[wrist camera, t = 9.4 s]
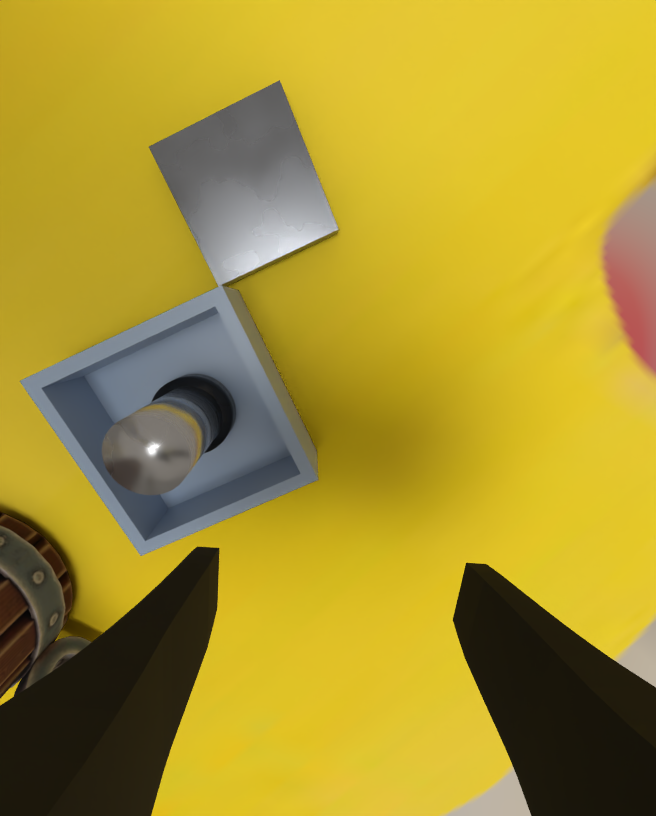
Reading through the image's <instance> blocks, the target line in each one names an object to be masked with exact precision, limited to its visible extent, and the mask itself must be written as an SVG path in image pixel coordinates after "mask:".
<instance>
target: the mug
mask: <svg viewBox="0 0 656 816" xmlns="http://www.w3.org/2000/svg"><path fill="white" fill-rule="evenodd" d="M72 598H73V594H72V586H71V581H70V578H69V575H68V572H67V569H66V567H65V565H64V563H63V561H62V559H61V558H60V556H59V554H58V552H57V551H56V550H55V549H54V548H53V547H52V545H51V544H50V543H49V542H48V541H47V540H46V539H45V537H43V536H42V535H41V534H39V533H38V532H37V531H35V530H34V529H33V528H31V527H30V526H28V525H27V524H26V523H24V522H21V521H19V520H17V519H15V518H12V517H10V516H8V515H6V514H4V513H0V698H1V697H2V696H3V695H4V694H5V693H6V691H7V690H8V689H9V688H11V687H13V686H14V685H15V684H16V683H17V682H18V681H19V680H20V679H21V681H20V682H19V685H18V687H17V689H16V691H15V694H14V696H16V695H17V694H19V693H20V692H22V691H23V690H25V689H26V688H28V687H29V686H31V685H32V684H34V683H35V682H37V681H38V680H40V679H41V678H43V677H44V676H46V675H47V674H49V673H51V672H52V671H53V670H55V669H56V668H58V667H59V666H61V665H62V664H63V663H65V662H66V661H68V660H69V659H70V658H72V657H73V656H74V655H76V654H77V653H78V652H80V651H81V650H82V649H84V648H85V647H86V646H88V645H89V644H90V643H92V642H91V641H88V640H86V639H84V638H82V637H73V636H69V637H65V638H61V639H59V640H57V641H55V640H56V638H57V636H58V634H59V632H60V631H61V629H62V628H63V626H64V625H65V623H66V621H67V620H68V619H67V613H68V612H69V611H70V610H71V607H72Z"/></svg>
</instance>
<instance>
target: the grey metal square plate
mask: <svg viewBox="0 0 656 816" xmlns="http://www.w3.org/2000/svg"><path fill="white" fill-rule="evenodd" d="M149 148H150V150H151V152H152V154H153V156H154V158H155V160H156V162H157V164H158V166H159V168H160V170H161V172H162V174H163V176H164V178H165V180H166V182H167V184H168V186H169V188H170V190H171V192H172V194H173V196H174V198H175V200H176V202H177V204H178V206H179V208H180V210H181V212H182V214H183V216H184V218H185V220H186V222H187V224H188V226H189V228H190V230H191V232H192V234H193V236H194V238H195V240H196V242H197V244H198V246H199V248H200V250H201V252H202V254H203V256H204V258H205V260H206V262H207V264H208V266H209V268H210V270H211V272H212V274H213V276H214V278H215V280H216V282H217V284H218V286H221V285H222V286H228V285H230V284H232V283H234V282H236V281H239V280H241V279H243V278H245V277H247V276H249V275H251V274H253V273H255V272H258V271H260V270H262V269H264V268H266V267H268V266H270V265H272V264H274V263H277V262H279V261H281V260H283V259H285V258H287V257H289V256H291V255H293V254H296V253H298V252H300V251H302V250H304V249H306V248H308V247H310V246H312V245H315V244H317V243H319V242H321V241H323V240H325V239H327V238H329V237H331V236H334V235H336V234H337V233H338V230H339V229H338V226H337V224H336V221H335V219H334V216H333V214H332V211H331V209H330V206H329V204H328V201H327V199H326V196H325V194H324V191H323V189H322V186H321V183H320V181H319V178H318V176H317V173H316V171H315V168H314V166H313V163H312V161H311V158H310V156H309V153H308V151H307V148H306V146H305V143H304V141H303V138H302V136H301V133H300V131H299V128H298V125H297V123H296V120H295V118H294V115H293V113H292V110H291V108H290V105H289V103H288V100H287V98H286V95H285V93H284V90H283V88H282V85H281V83H280V80H279V81H277V82H275V83H273V84H272V85H270V86H268V87H266V88H264V89H262V90H260V91H258V92H256V93H254V94H252V95H250V96H248V97H246V98H244V99H242V100H240V101H238V102H236V103H234V104H232V105H230V106H228V107H226V108H224V109H222V110H220V111H218V112H216V113H214V114H212V115H210V116H208V117H207V118H205V119H203V120H201V121H199V122H197V123H195V124H193V125H191V126H189V127H187V128H185V129H183V130H181V131H179V132H177V133H175V134H173V135H171V136H169V137H167V138H165V139H163V140H161V141H159V142H157V143H155V144H153V145H151V146H149Z"/></svg>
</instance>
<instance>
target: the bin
mask: <svg viewBox="0 0 656 816" xmlns="http://www.w3.org/2000/svg"><path fill="white" fill-rule="evenodd" d="M187 374H203V375H207V376H210V377H213V378H214V379H216V380H218V381H219V382H221V383H222V384H223V385H224V386H225V387H226V388H227V389H228V390H229V392H230V393H231V395H232V397H233V399H234V402H235V406H236V419H235V423H234V425H233V427H232V429H231V431H230V432H229V434H228V435H227V437H226V438H225V440H224V441H223V442H222V443H221V444H220V445H219V446H218V447H217V448H215V449H213V450H212V451H209V452H207V453H204V454H203V455H202V456H201V458H200V459H199V460H198V462H197V463H196V464H195V466H194V467H193V468H192V470H191V471H190V472H189V474H188V475H187V476H186V478H185V479H184V480H183V482H182V483H181V484H180V485H179V486H177V487H176V488H175V489H173V490H171V491H169V492H166V493H163V494H159V495H143V494H138V493H135V492H132V491H130V490H128V489H126V488H124V487H122V486H121V485H120V484H118V483H117V482H116V481H115V480H114V479H113V478H112V477H111V475H110V474H109V472H108V471H107V469H106V467H105V465H104V462H103V457H102V444H103V440H104V437H105V435H106V433H107V432H108V430H109V429H110V428H111V427H112V426H113V425H114V424H115V423H116V422H118V421H120V420H121V419H123V418H125V417H127V416H128V415H130V414H132V413H134V412H135V411H137V410H139V409H141V408H142V407H144V406H146V405H148V404H149V403H151V402H152V399H153V397H154V395H155V394H156V392H157V391H158V390H159V389H160V388H161V387H162V386H164V385H165V384H167V383H168V382H170V381H172V380H174V379H176V378H178V377H181V376H183V375H187ZM20 382H21V384H22V385H23V387H24V388H25V390H26V391H27V392H28V394H29V395H30V397H31V398H32V400H33V401H34V403H35V404H36V405H37V407H38V408H39V410H40V411H41V413H42V414H43V416H44V417H45V418H46V420H47V421H48V423H49V424H50V426H51V427H52V429H53V430H54V431H55V433H56V434H57V436H58V437H59V439H60V440H61V441H62V443H63V444H64V446H65V447H66V449H67V450H68V452H69V453H70V454H71V456H72V457H73V459H74V460H75V462H76V463H77V465H78V466H79V467H80V469H81V470H82V472H83V473H84V475H85V476H86V478H87V479H88V480H89V482H90V483H91V485H92V486H93V488H94V489H95V491H96V492H97V493H98V495H99V496H100V498H101V499H102V501H103V502H104V504H105V505H106V506H107V508H108V509H109V511H110V512H111V514H112V515H113V517H114V518H115V519H116V521H117V522H118V524H119V525H120V527H121V528H122V530H123V531H124V532H125V534H126V535H127V537H128V538H129V540H130V541H131V543H132V544H133V545H134V547H135V548H136V550H137V551H138V553H139V554H140V555H141V556H142V555H144V554H146V553H149V552H151V551H153V550H156V549H158V548H160V547H163V546H165V545H167V544H170V543H172V542H174V541H177V540H179V539H181V538H184V537H186V536H188V535H191V534H193V533H195V532H198V531H200V530H202V529H205V528H207V527H209V526H211V525H214V524H216V523H218V522H221V521H223V520H225V519H228V518H230V517H232V516H235V515H237V514H239V513H242V512H244V511H246V510H249V509H251V508H253V507H256V506H258V505H260V504H263V503H265V502H267V501H270V500H272V499H274V498H277V497H279V496H281V495H284V494H286V493H288V492H291V491H293V490H295V489H298V488H300V487H302V486H305V485H307V484H309V483H312V482H314V481H316V480H318V463H317V450H316V448H315V446H314V444H313V442H312V440H311V438H310V436H309V434H308V432H307V430H306V428H305V426H304V424H303V422H302V420H301V417H300V415H299V413H298V411H297V409H296V407H295V405H294V403H293V401H292V399H291V397H290V395H289V393H288V391H287V389H286V387H285V385H284V383H283V381H282V378H281V376H280V374H279V372H278V370H277V368H276V366H275V364H274V362H273V360H272V358H271V356H270V354H269V352H268V350H267V348H266V346H265V344H264V342H263V340H262V337H261V335H260V333H259V331H258V329H257V327H256V325H255V323H254V321H253V319H252V317H251V315H250V313H249V311H248V309H247V307H246V305H245V303H244V301H243V298H242V296H241V294H240V292H239V290H236V289H232V288H229V287H226V286H222V285H221V286H219V287H217V288H215V289H213V290H211V291H209V292H206V293H204V294H202V295H200V296H198V297H196V298H194V299H192V300H190V301H187V302H185V303H183V304H181V305H179V306H177V307H175V308H173V309H171V310H168V311H166V312H164V313H162V314H160V315H158V316H156V317H154V318H152V319H149V320H147V321H145V322H143V323H141V324H139V325H137V326H135V327H133V328H131V329H128V330H126V331H124V332H122V333H120V334H118V335H116V336H114V337H112V338H109V339H107V340H105V341H103V342H101V343H99V344H97V345H95V346H93V347H90V348H88V349H86V350H84V351H82V352H80V353H78V354H76V355H74V356H71V357H69V358H67V359H65V360H63V361H61V362H59V363H57V364H55V365H53V366H50V367H48V368H46V369H44V370H42V371H40V372H38V373H36V374H34V375H31V376H29V377H27V378H25V379H23V380H21V381H20Z"/></svg>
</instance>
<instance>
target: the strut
mask: <svg viewBox="0 0 656 816" xmlns="http://www.w3.org/2000/svg"><path fill="white" fill-rule="evenodd" d="M235 419H236V406H235V402H234V399H233V397H232V395H231V393H230V392H229V390H228V389H227V388H226V387H225V386H224V385H223V384H222V383H221V382H219V381H218V380H216V379H214V378H213V377H210V376H207V375H203V374H187V375H183V376H181V377H178V378H176V379H174V380H172V381H170V382H168V383H167V384H165V385H164V386H162V387H161V388H160V389H159V390H158V391H157V392H156V394H155V395H154V397H153V399H152V402H151V403H149V404H148V405H146V406H144V407H142V408H141V409H139V410H137V411H135V412H134V413H132V414H130V415H128V416H127V417H125V418H123V419H121V420H120V421H118V422H116V423H115V424H114V425H113V426H112V427H111V428H110V429H109V430H108V432H107V433H106V435H105V437H104V440H103V444H102V457H103V462H104V465H105V467H106V469H107V471H108V472H109V474H110V475H111V477H112V478H113V479H114V480H115V481H116V482H117V483H118V484H120V485H121V486H122V487H124V488H126V489H128V490H130V491H132V492H135V493H138V494H143V495H159V494H163V493H166V492H169V491H171V490H173V489H175V488H176V487H177V486H179V485H180V484H181V483H182V482H183V480H184V479H185V478H186V476H187V475H188V474H189V472H190V471H191V470H192V468H193V467H194V466H195V464H196V463H197V462H198V460H199V459H200V458H201V456H202V455H203V454H204V453H207V452H209V451H212V450H213V449H215V448H217V447H218V446H219V445H220V444H221V443H222V442H223V441H224V440H225V438H226V437H227V435H228V434H229V432H230V431H231V429H232V427H233V425H234V423H235Z"/></svg>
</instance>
